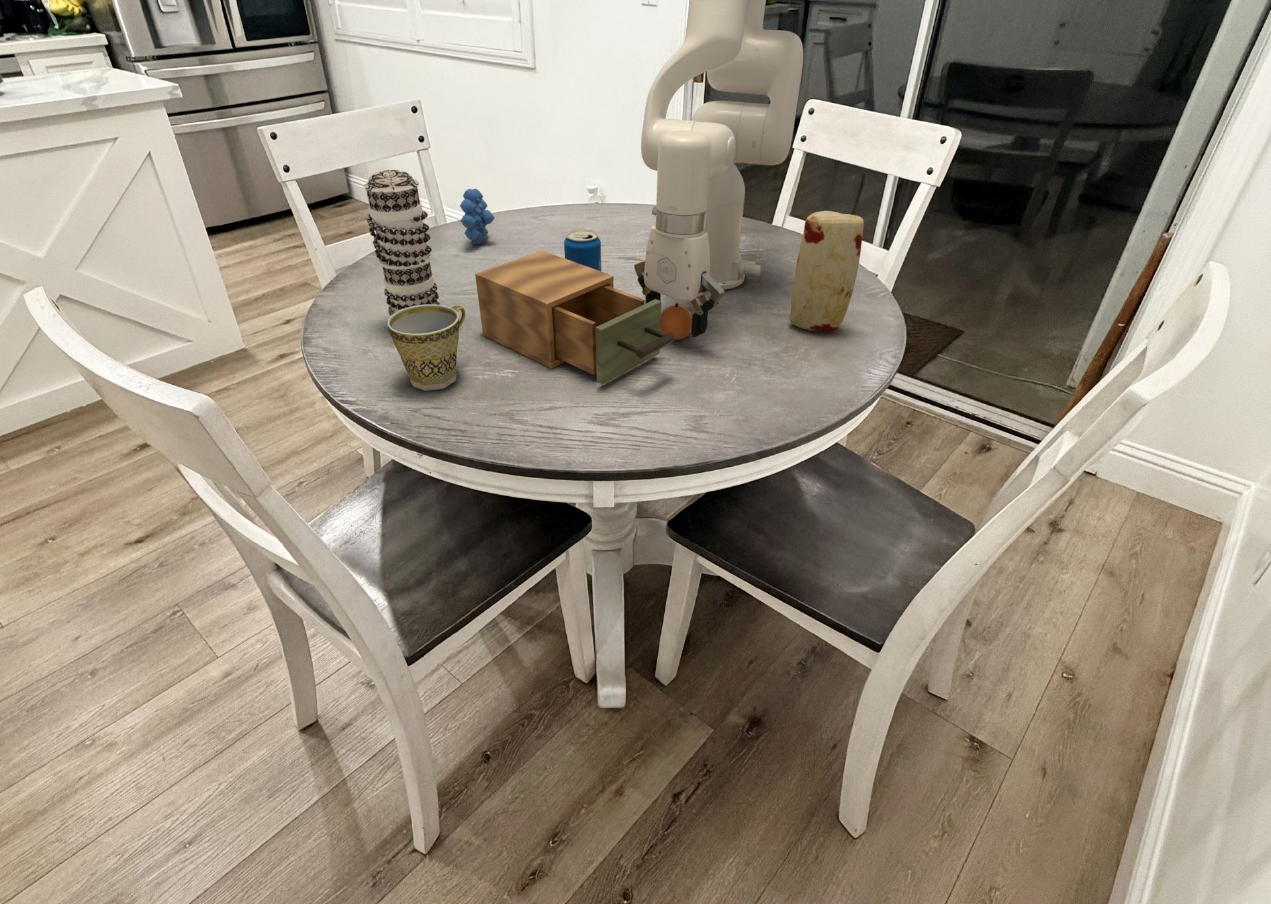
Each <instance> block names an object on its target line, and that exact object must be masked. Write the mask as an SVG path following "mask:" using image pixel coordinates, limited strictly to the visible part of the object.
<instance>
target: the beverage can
mask: <svg viewBox="0 0 1271 904" xmlns="http://www.w3.org/2000/svg"><path fill="white" fill-rule="evenodd" d="M563 250H564V258H565V259H567V260H570V261H573V262H576V263H579V264H581V265H584V266H587V267H590V268H592V269H595V270H598V271H601V272H602V240H601V239H600V237H599V233H598V232H596V231H595V230H591V229H581V228H580V229H574V230H570V231H568V232H566V234H565V239H564V241H563Z"/></svg>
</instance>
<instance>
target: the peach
mask: <svg viewBox="0 0 1271 904" xmlns="http://www.w3.org/2000/svg"><path fill="white" fill-rule="evenodd" d="M692 315H693V314H692V313H691V311H689V310H688V308H686V307H685V306H682V305H679V302H676V303H675V304H674V305H670V306H668V307H666V308H665V309H664V310H662V311H661V328H660V332H661V333H663V334H668V333H671V334H673V335H674V338H675V339H674V341H677V340H682V339H684V338H686V337H688V336H689V334H691V328H692Z"/></svg>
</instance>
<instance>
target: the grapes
mask: <svg viewBox="0 0 1271 904" xmlns="http://www.w3.org/2000/svg"><path fill="white" fill-rule="evenodd" d="M462 197H463V200H462V201H461V202H460V205H459V208H460V209H461V211H462V212H464V215H463V216H461V218H460V223H461V224H462V226H463V227H464V228H466V229H465V231H464V235H465V236H466V238H467V239H468V240H469V241H471V242H472V243H473V244H474V245H481V244H482V243H483V242H484V240H485V238H486V237H487V235H488V234H489V231H488V229H487V228H486V227H487V225H491V224H492V223H493V222H494V220H495V218H496V217H495V215H494V214H493V213H492V212H491V211H490V210H489V209H487V208H488V203H487V202H486V201H485V200H484V199H483V198H484V195H483V194H482V192H481V191H480V190H479V189H477V188H467V189H465V191H464V192H463V194H462Z"/></svg>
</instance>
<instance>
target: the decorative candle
mask: <svg viewBox="0 0 1271 904" xmlns="http://www.w3.org/2000/svg"><path fill="white" fill-rule="evenodd" d="M419 185H420V181H419V180H417V179H414V177H413V176H412V175H411V174H410V173H409V172H407V171H405V170H400V169H386V170H379V171H377V172H374V173H372V174H371V175H370V177H369V178H368V182H366V183H364V185H363V189H365V191H366V196H367V201H368V208H367V209H368V212H369V213H368V214H367V217H366V222H367V224H368V226H369V228H368V231H369V234H370V236H372V237H373V240H372V245H373V247H374V249H375V250H374V253H375V257H376V259H377V264H379V265H380V266H381V267H382V272H383V276H384V278H383V284H384V291H383V292H384V295H385V297H386V298H385V299H386V304H387V305H388V308H387V313H388V315H389V317H390V316H391V315H393V314H394V313H396V312H397V311H399V310H402V309H405V308H408V307H412V306H417V305H425V304H436V305H441V302H440V301H438V300H439V298H440V297H439V296H440V295H439V293H438V291H437V290H438V285H437V283H436V282H435V277H434V273H433V271H432V266H431V261H432V259H433V254H432V253H431V252H432V251H433V250H432V248H431V246H429V245H428V244H427V243H428V242H429V241H430V240H431V239H432V238H431V235H430V234H429V233H427V232H428V231H429V230H430V226H429V225H428V224H427V223H425V222H424V220H426V218H428V217H429V214H428V213H427V212H426V211H425V210H423V204H422V201H421V200H420V194H419V188H418V186H419Z"/></svg>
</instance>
